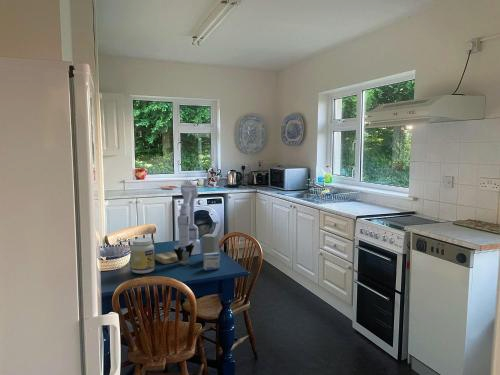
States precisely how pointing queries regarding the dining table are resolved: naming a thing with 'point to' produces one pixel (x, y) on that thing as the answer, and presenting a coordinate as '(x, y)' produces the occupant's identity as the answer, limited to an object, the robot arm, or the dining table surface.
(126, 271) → the dining table surface
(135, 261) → the supplement tub
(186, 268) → the dining table surface
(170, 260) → the green-striped tan block
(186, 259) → the column
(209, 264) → the medicine box
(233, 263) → the dining table surface
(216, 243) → the skincare box
